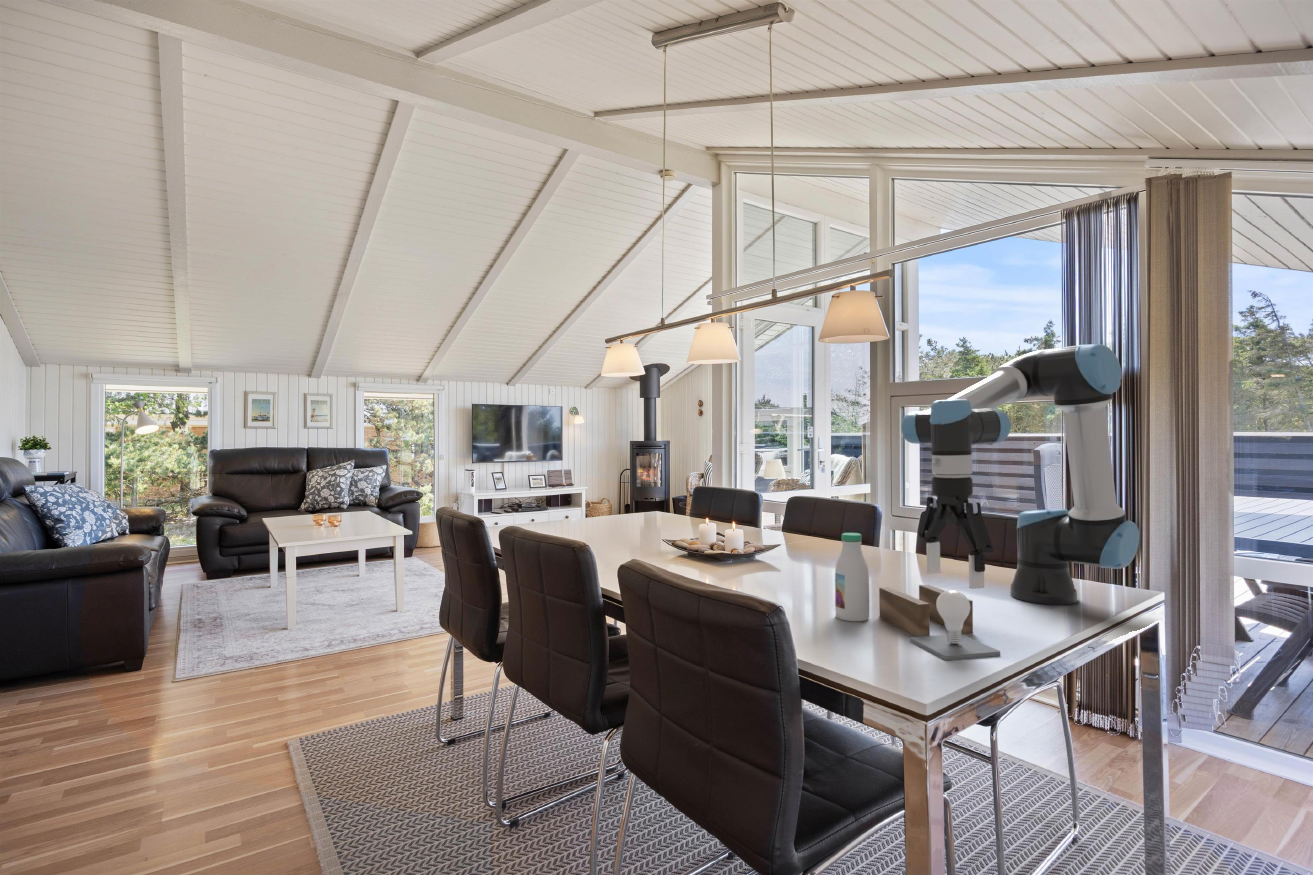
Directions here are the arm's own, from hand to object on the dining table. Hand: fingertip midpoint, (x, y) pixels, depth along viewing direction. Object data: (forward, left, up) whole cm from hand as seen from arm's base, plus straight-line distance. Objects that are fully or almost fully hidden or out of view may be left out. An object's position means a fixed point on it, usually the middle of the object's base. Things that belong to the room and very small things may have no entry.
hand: (954, 580), depth 134 cm
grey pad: (0, 0, -14) cm, 14 cm away
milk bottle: (+9, -25, -14) cm, 30 cm away
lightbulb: (0, 0, -13) cm, 13 cm away
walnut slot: (-4, -16, -14) cm, 21 cm away
